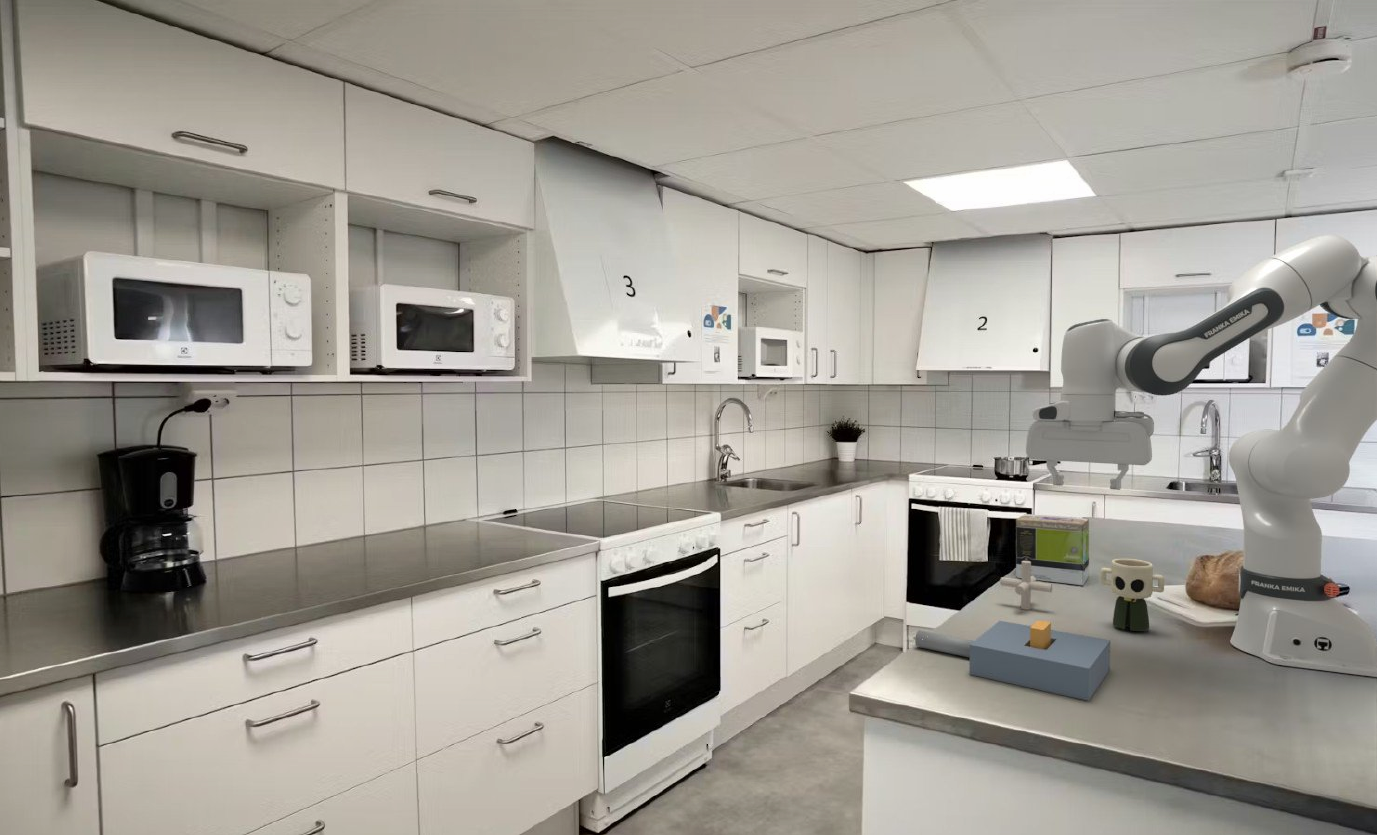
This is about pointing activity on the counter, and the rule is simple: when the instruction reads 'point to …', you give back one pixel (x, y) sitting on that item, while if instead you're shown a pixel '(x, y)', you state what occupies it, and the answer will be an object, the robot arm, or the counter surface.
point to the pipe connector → (1026, 585)
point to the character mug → (1132, 591)
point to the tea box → (1053, 548)
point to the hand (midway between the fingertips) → (1086, 487)
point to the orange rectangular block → (1040, 635)
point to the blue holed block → (1030, 658)
